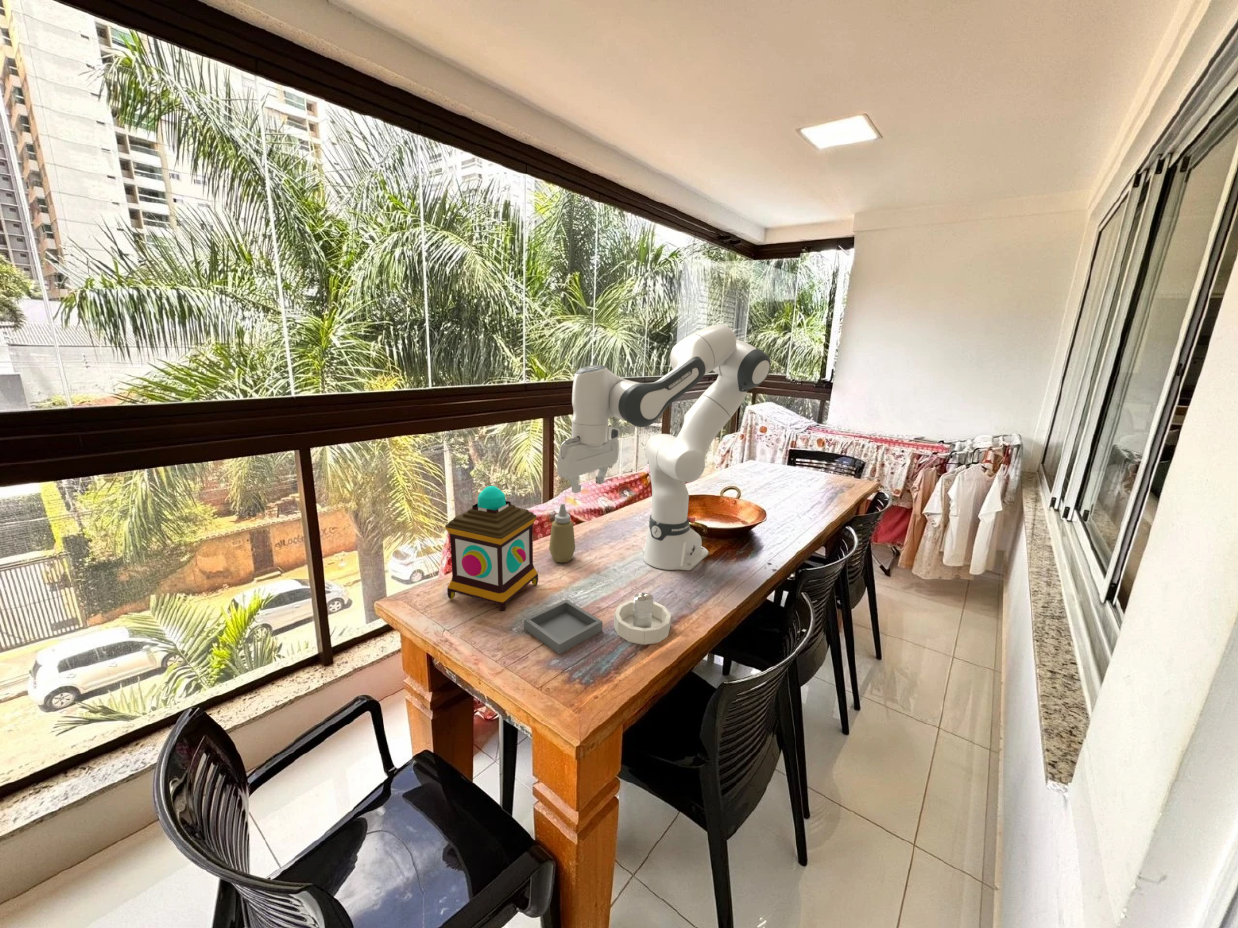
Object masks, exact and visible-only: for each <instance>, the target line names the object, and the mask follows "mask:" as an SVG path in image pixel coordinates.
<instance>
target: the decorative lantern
mask: <svg viewBox="0 0 1238 928" xmlns="http://www.w3.org/2000/svg"><path fill="white" fill-rule="evenodd" d="M536 520H537V514H535V513H534V512H532V511H530V510H529V509H526V508H522V507H518V506H516V505H515V504H512V503H511V501H507V499H506V495H505V493H504V492H503V491H502V490H501V489H500V488H499V487H497V486H495V485H489V486H486V487H485V488H483V489H482V490H481V492H479V494H478V497H477V503H476V504H472V508H469V509H468V510H466V511H465V512H462V513H461V514H459V515H457V516H455V517H453V519H452V520H451V519H450V521H448V523H447V524H445V525H444V528H445V530H446V531H447V533H448V534H449V540H450V559H451V561H450V562H451V573H452V574H451V575H452V576H451V580H450V582H449V584H448V586H447V588H446V589H447V593H446V594H447V597H448V599H449V600H454V599H455V596H456V594H460V595H463V596H466V597H471V598H475V599H479V600H483V601H485V602H490V603H494V604H496V605H497V606H498V610H499V611H500V612H505V611H506V607H507V603H508V602H509V601H510V600H511V599H512V598H514V597H515V596H516V595H517V594H518V593H519V592H520V591H522V590H523V589H524V588H525V587H527V586H528V585H529V584H530V583H532V585H533V586H536V585H538V582H539V572H538V571H537V569H536V568H535V566H534V546H533V545H534V540H533V539H534V537H533V535H534V534H533V532H534V531H533V529H534V523H535V521H536Z"/></svg>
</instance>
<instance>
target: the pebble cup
mask: <svg viewBox="0 0 1238 928" xmlns="http://www.w3.org/2000/svg"><path fill="white" fill-rule="evenodd" d="M633 597H634V598H633V600H634V610H633V626H634V627H640V628H651V626H652V610H653V601H654V596H653V595H652V594H650V593H647V592H637V593H636V594H634V595H633Z"/></svg>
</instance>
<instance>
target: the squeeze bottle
mask: <svg viewBox="0 0 1238 928" xmlns="http://www.w3.org/2000/svg"><path fill="white" fill-rule="evenodd" d="M565 505H566V504H565V503H561V504H560V507H559V510H558V513H556V514H555V515H554V521H553V522H551V528H550V537H549V548H548V551H549V552H550V555H551V558H552V560H553V562H555V563H568V562H571V560H572V559H573V555H574V553H575V551H576V542H575V541H576V540H575V530H574V528H575V527H574V522H573V521H572V520H571V515H570V514H569V513H568V512H567V509H566V506H565Z"/></svg>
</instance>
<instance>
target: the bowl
mask: <svg viewBox="0 0 1238 928" xmlns="http://www.w3.org/2000/svg"><path fill="white" fill-rule="evenodd" d="M633 610H634V599H633V600H627V601H624V602H623V603H621V604H620V605H618V606H617V607H616V610H615V612H614V617H613V618H614V620H613V621H614V622H613V627H614V629H615V632H616V634H617V636H618V637H620V638H622V639H623V640H626V641H627V642H628V643H632V644H633V643H634V644H638V645H651V644H652V645H653V644H657V643H658V644H659V643H660V642H661V641H664V640H665V639H666V638H668V637H669V634H670V629H671V620H672V618H671V617H672V616H671V615H672V614H671V613H670V611H669V610H668V608H667V607H666V606H664V605H663V604H661V603H658V602H656V601H654V600H653V610H652V626H651V628H640V627H634V626H633Z"/></svg>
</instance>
